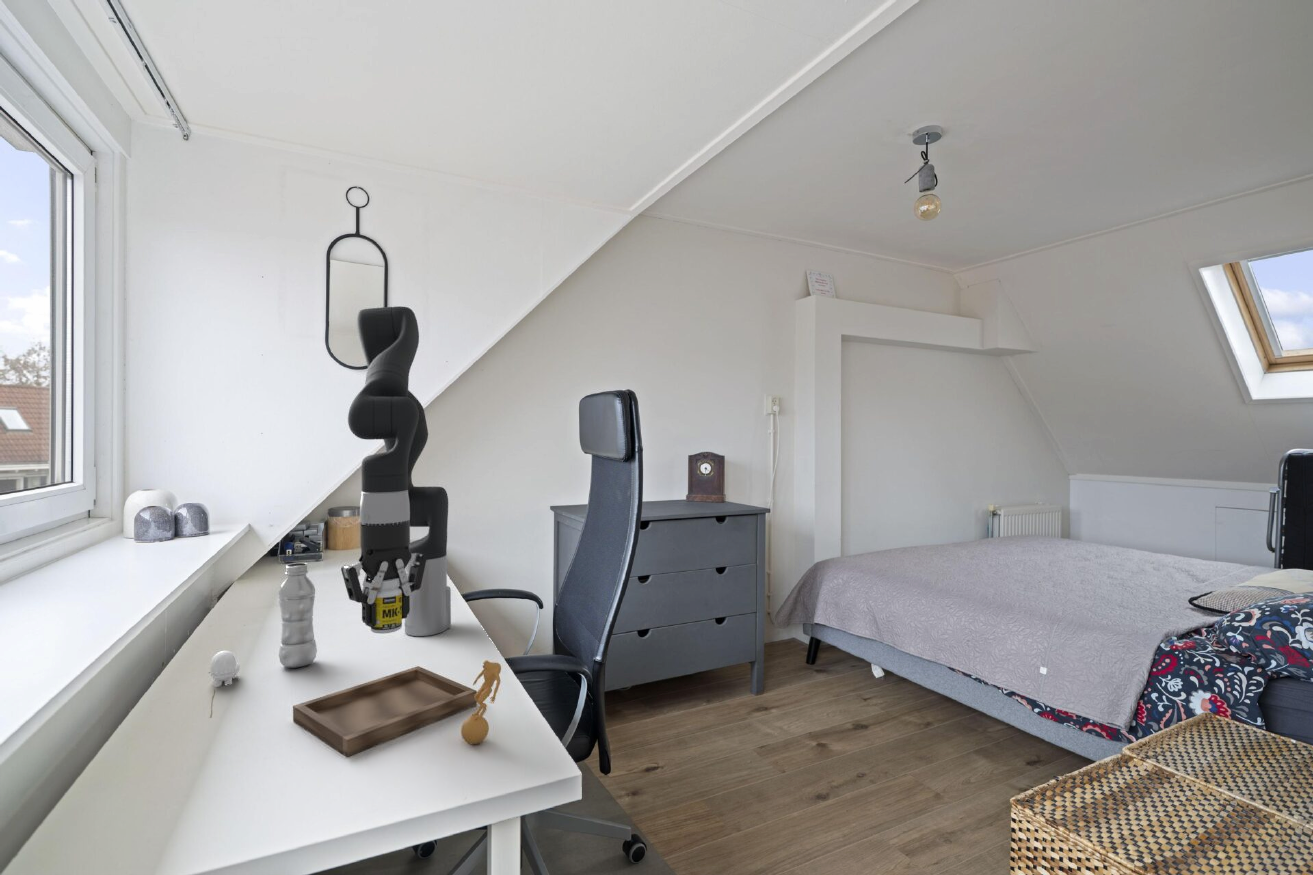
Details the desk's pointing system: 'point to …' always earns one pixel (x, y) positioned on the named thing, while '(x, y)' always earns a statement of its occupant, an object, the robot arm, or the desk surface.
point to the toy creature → (224, 668)
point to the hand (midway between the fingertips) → (386, 621)
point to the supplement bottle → (388, 607)
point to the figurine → (481, 705)
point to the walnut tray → (382, 709)
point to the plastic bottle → (297, 617)
